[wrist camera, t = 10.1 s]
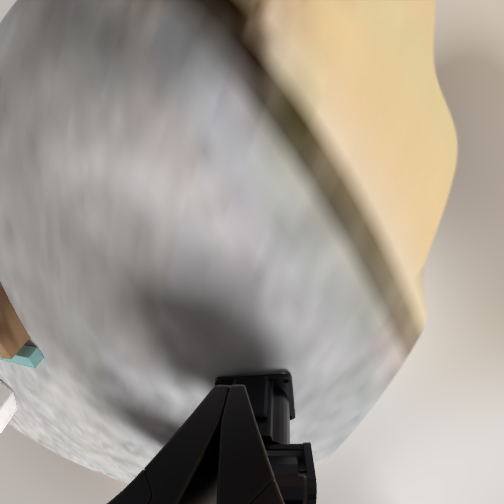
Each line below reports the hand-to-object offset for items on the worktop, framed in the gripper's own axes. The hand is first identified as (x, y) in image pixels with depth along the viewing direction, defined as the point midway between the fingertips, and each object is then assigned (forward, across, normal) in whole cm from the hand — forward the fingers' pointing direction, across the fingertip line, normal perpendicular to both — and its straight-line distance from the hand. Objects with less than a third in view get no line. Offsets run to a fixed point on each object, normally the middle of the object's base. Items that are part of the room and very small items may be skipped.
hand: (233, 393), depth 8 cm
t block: (+12, +31, +5) cm, 34 cm away
